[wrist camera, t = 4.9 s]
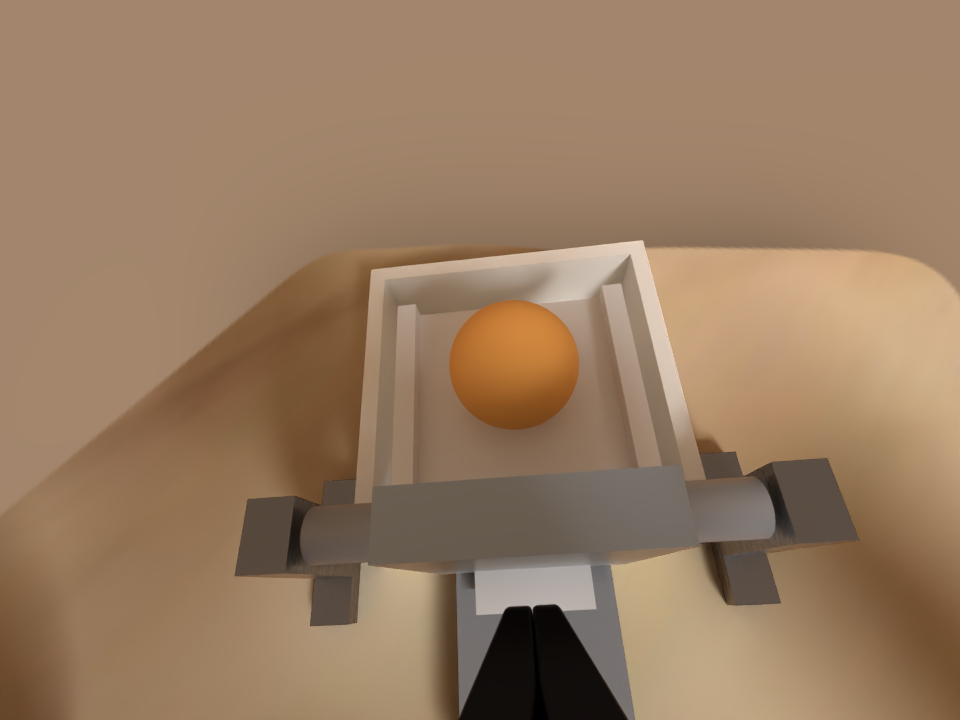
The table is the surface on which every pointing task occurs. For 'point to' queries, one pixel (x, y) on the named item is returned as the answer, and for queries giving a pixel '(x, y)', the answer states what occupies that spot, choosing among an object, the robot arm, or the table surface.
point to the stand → (741, 564)
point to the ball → (514, 364)
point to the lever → (532, 492)
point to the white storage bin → (531, 282)
